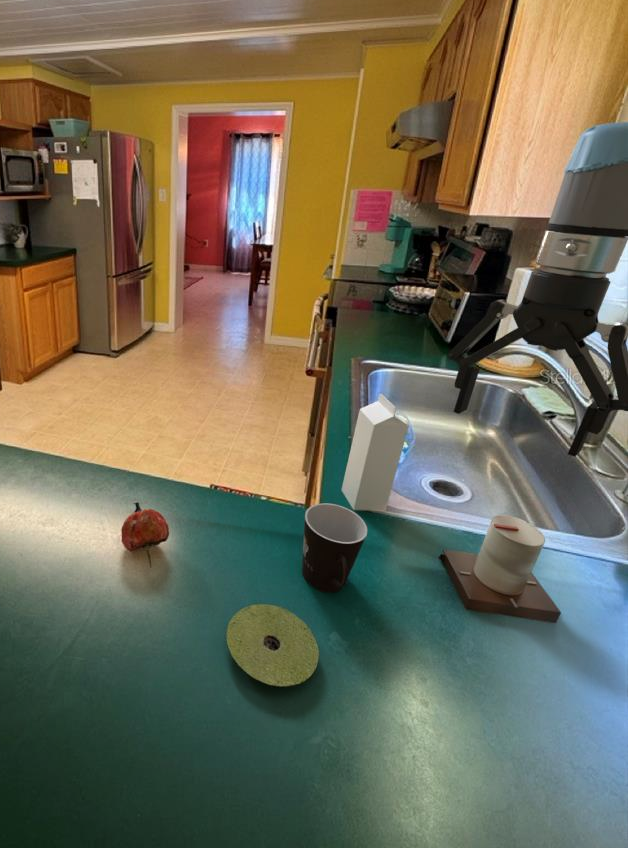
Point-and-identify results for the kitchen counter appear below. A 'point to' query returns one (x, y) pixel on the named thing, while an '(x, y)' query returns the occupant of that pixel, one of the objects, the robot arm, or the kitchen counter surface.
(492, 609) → the brown dial base
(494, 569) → the cream knob
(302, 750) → the kitchen counter surface
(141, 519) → the pomegranate
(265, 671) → the green disc with hole
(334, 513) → the coffee mug
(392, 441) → the milk
